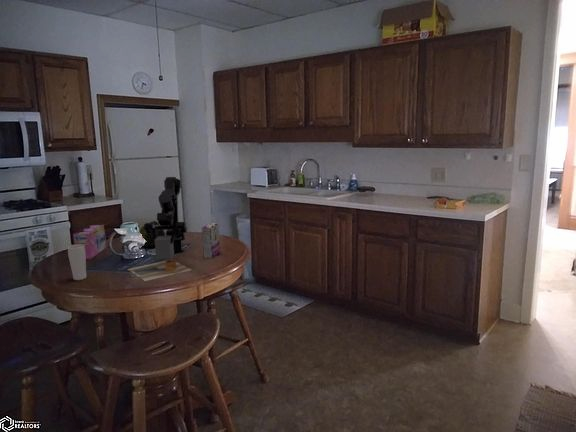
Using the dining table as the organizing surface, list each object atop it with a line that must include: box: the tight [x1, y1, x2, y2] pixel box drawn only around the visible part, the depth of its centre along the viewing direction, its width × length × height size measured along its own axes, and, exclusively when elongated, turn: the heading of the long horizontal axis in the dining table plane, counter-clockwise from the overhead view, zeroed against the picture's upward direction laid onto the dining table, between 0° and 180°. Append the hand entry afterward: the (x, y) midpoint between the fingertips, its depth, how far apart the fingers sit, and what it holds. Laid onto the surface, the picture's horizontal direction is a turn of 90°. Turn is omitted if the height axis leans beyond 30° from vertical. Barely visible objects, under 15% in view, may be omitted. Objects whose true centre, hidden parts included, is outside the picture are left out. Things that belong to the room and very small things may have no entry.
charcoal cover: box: [154, 235, 175, 260], centre depth 194 cm, size 7×7×9 cm
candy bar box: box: [201, 222, 221, 259], centre depth 217 cm, size 11×5×16 cm, turn 168°
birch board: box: [127, 260, 192, 282], centre depth 197 cm, size 22×22×1 cm
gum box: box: [72, 223, 108, 260], centre depth 228 cm, size 24×8×14 cm, turn 3°
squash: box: [139, 220, 166, 248], centre depth 240 cm, size 14×15×15 cm
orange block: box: [165, 259, 177, 271], centre depth 196 cm, size 4×4×4 cm
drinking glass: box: [67, 244, 87, 281], centre depth 187 cm, size 7×7×15 cm
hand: (163, 243), depth 192 cm, fingers closed on charcoal cover, 7 cm apart
